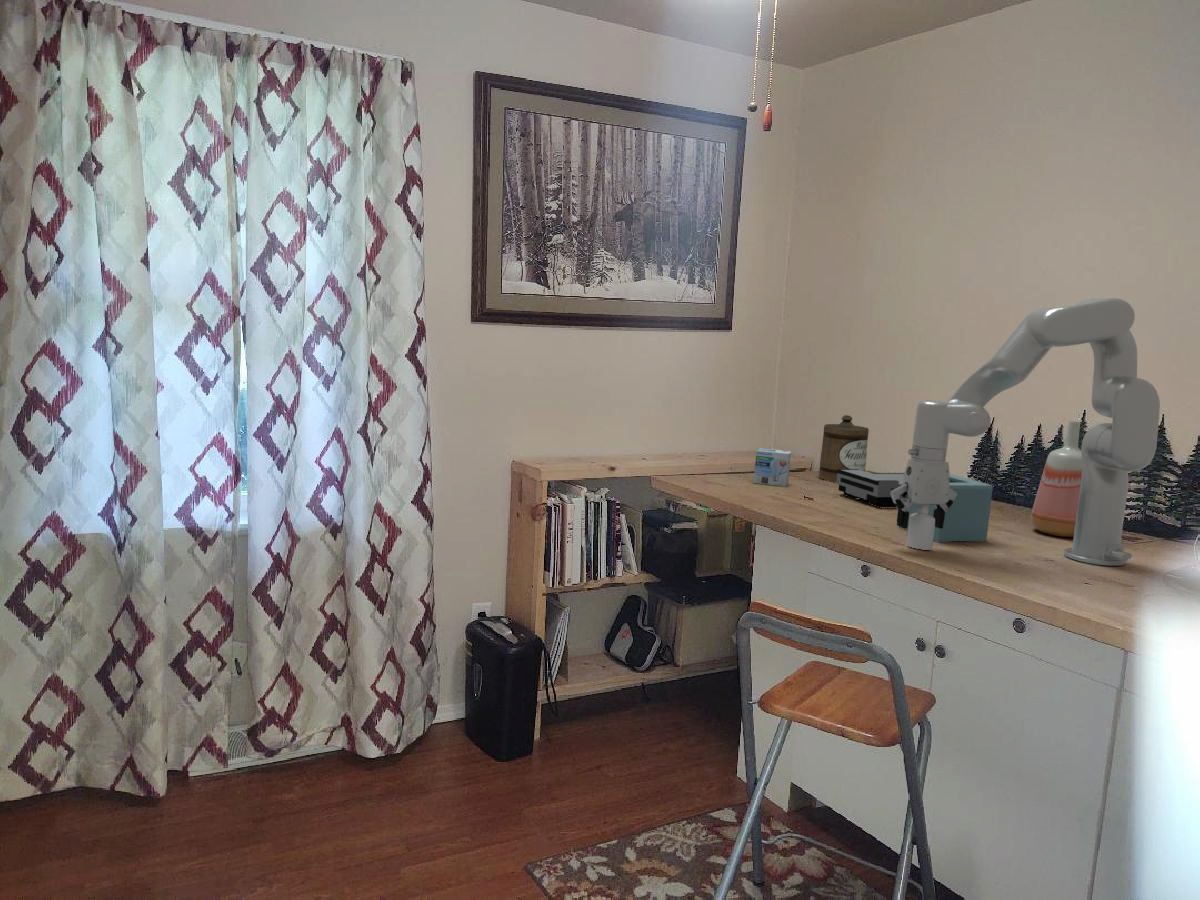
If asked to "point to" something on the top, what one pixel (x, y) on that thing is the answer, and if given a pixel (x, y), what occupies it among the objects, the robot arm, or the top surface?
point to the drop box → (964, 512)
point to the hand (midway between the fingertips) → (919, 527)
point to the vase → (1060, 488)
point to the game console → (869, 485)
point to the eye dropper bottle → (921, 529)
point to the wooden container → (843, 448)
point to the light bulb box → (772, 467)
